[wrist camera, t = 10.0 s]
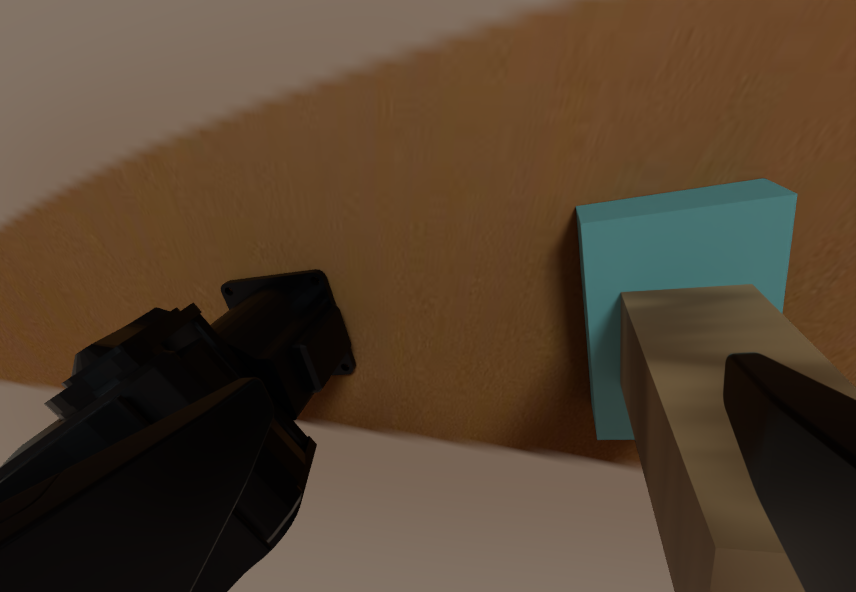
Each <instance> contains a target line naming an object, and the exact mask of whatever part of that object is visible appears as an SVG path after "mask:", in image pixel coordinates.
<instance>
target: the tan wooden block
mask: <svg viewBox="0 0 856 592" xmlns="http://www.w3.org/2000/svg"><path fill="white" fill-rule="evenodd" d="M749 352H757V353H760V354H762V355H765V356H767V357H769V358H771V359H773V360H775V361H777V362H779V363H781V364H783V365H785V366H787V367H789V368H791V369H793V370H795V371H797V372H800V373H802V374H804V375H806V376H808V377H810V378H812V379H814V380H816V381H818V382H820V383H822V384H824V385H826V386H828V387H830V388H832V389H835V390H837V391H839V392H841V393H843V394H845V395H847V396H849V397H851V398H853V399H855V400H856V387H855V386H854V385H853V384H852V383H851V382H850V381H849V380H848V379H847V378H846V377H845V376H844V375H843V374H842V373H841V372H840V371H839V370H838V369H837V368H836V367H835V366H834V365H833V364H832V363H831V362H830V361H829V360H828V359H827V358H826V357H825V356H824V355H823V354H822V353H821V352H820V351H819V350H818V349H817V348H816V347H815V346H814V345H813V344H812V343H811V342H810V341H809V340H808V339H807V338H806V337H805V336H804V335H803V334H802V333H801V332H800V331H799V330H798V329H797V328H796V327H795V326H794V325H793V324H792V323H791V322H790V321H789V320H788V319H787V318H786V317H785V316H784V315H783V314H782V313H781V312H780V311H779V310H778V309H777V308H776V307H775V306H774V305H773V304H772V303H771V302H770V301H769V300H768V299H767V298H766V297H765V296H764V295H763V294H762V293H761V292H760V291H759V290H758V289H757V288H756V287H755V286H754V285H753V284H744V285H728V286H712V287H696V288H679V289H663V290H647V291H631V292H621V331H620V385H621V389H622V393H623V396H624V400H625V404H626V408H627V412H628V415H629V419H630V423H631V427H632V431H633V434H634V438H635V442H636V446H637V450H638V454H639V457H640V461H641V465H642V469H643V473H644V476H645V480H646V484H647V487H648V492H649V496H650V499H651V503H652V507H653V511H654V515H655V518H656V522H657V526H658V530H659V534H660V537H661V541H662V545H663V549H664V552H665V557H666V560H667V564H668V568H669V572H670V576H671V579H672V583H673V587H674V591H675V592H805V590H804V588H803V587H802V585H801V583H800V581H799V579H798V577H797V575H796V573H795V571H794V569H793V567H792V565H791V563H790V561H789V559H788V557H787V555H786V553H785V551H784V549H783V547H782V545H781V543H780V541H779V539H778V537H777V535H776V533H775V531H774V529H773V527H772V525H771V523H770V521H769V519H768V517H767V515H766V513H765V511H764V509H763V507H762V505H761V503H760V501H759V499H758V496H757V494H756V492H755V489H754V487H753V484H752V481H751V479H750V476H749V473H748V470H747V468H746V465H745V462H744V459H743V457H742V454H741V451H740V448H739V446H738V443H737V440H736V437H735V435H734V432H733V429H732V426H731V424H730V421H729V418H728V415H727V413H726V410H725V406H724V402H723V385H724V372H725V361H726V358H727V356H728V355H729V354H732V353H749Z"/></svg>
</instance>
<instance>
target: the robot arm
mask: <svg viewBox="0 0 856 592" xmlns="http://www.w3.org/2000/svg"><path fill="white" fill-rule="evenodd" d="M314 277H317V278H318V279H319V282H317V281H315V279H314ZM229 288H230V289H232V291H233V292H232V291H230V289H229ZM221 292H222V295H223V297H224V299H225V301H226V303H227V306H228V308H229V311H228V312H226V313H225V314H224V315H223V316H221V317H220V318H219V319H217V320H216V321H215V322H214V323H212V324H211V325H209V323H208V322H207V321H206V320H205V319H204V318H203V317H202V315H201V314H200V313H201V311H200V309H199V308H198V307H197V306H196V305H195V304H194V302H193V303H192V304H190V305H189V306H187V307H186V308H184V309H183V310H181V311H180V310H179V309H178V308H175V309H173V310H172V311H167V310H163V309H160V308H157V307H156V308H154V309H152V310H151V311H149V312H148V313H146V314H144V315H143V316H141V317H140V318H138V319H136V320H135V321H133V322H131V323H130V324H128V325H126V326H125V327H123V328H121V329H119V330H117V331H115V332H114V333H112V334H110V335H108V336H106V337H104V338H102V339H100V340H98V341H97V342H95V343H93V344H91V345H89V346H88V347H86V348H85V349H83V350H82V351H80V352H79V353H77V354H76V355H75V360H74V365H73V370H72V376H71V377H70V378H69V379H67V380H66V381H65V382H63V383H62V385H63V386H64V387H65V388H66V389H65V390H63V391H62V392H60V393H59V394H57V395H56V396H55V397H53V398H52V399H50V400H49V401H47V402H46V403H44V404H45V405H46V406H47V407H48V408H49V409H50V410H51V411H52V412H53V413H54V414H55V415H57V416H58V417H59V419H58V420H57V421H55V422H54V423H53V424H51V425H50V426H48V427H47V428H45V429H44V430H43V431H41V432H40V433H38V434H37V435H36V436H34V437H33V438H32V439H30V440H29V441H27V442H26V443H25V444H23V445H22V446H21V447H20V448H18V450H16V451H15V452H14V453H13V454H12V455H11V456H10V457H9V458H8V460H6V462H5V463H4V464H3V465H2V466H1V467H0V592H227V591H228V590H229V589H230V588H231V587H232V586H233V585H234V584H235V583H236V582H237V581H238V580H239V579H240V578H241V577H242V576H243V574H244V573H246V572H247V571H248V570H249V569H250V568H251V567H252V566H254V565H255V564H256V563H257V562H259V561H260V560H261V559H262V558H264V557H265V556H266V555H267V554H268V553H269V552H270V551H271V550H272V549H273V548H274V547H275V546H276V544H277V543H278V542H279V541H280V540H281V539H282V537H283V536H284V535H285V533H286V532H287V530H288V529H289V527H290V526H291V525H292V523H293V521H294V519H295V517H296V516H297V513H298V511H299V508H300V505H301V501H302V498H303V494H304V490H305V487H306V483H307V479H308V476H309V472H310V468H311V464H312V461H313V457H314V453H315V450H316V446H317V444H316V443H315V442H314V441H313V440H312V438H311V437H310V436H308V437H307V436H306V435H305V434H304V433H303V431H302V430H301V429H300V428H299V427H298V426H297V424H296V423H295V422H294V420H296V419H297V417H298V416H299V414H300V413H301V411H302V410H303V409H304V407H305V406H306V404H307V403H308V401H309V400H310V398H311V397H312V395H313V394H314V393H316V392H320V391H321V390H322V388H323V387H324V385H325V384H326V382H327V381H328V379H329V378H330V376H331V375H345V374H351V373H352V372H353V370H354V369H355V366H356V363H355V360H354V357H353V354H352V351H351V348H350V347H351V342H350V339H349V336H348V333H347V331H346V328H345V325H344V322H343V319H342V316H341V313H340V310H339V308H338V307H337V306H336V304H335V301H334V298H333V295H332V292H331V289H330V286H329V283H328V280H327V277H326V275H325V274H324V273H323V272H322V271H321V270H316V269H315V270H307V271H299V272H292V273H284V274H276V275H269V276H261V277H253V278H246V279H238V280H230V281H227V282H226V283H224V284H223V285H222V286H221ZM344 364H347V365H348V366H349V367H347V366H345V365H344ZM723 402H724V406H725V410H726V413H727V415H728V418H729V421H730V424H731V426H732V429H733V432H734V435H735V437H736V440H737V443H738V446H739V448H740V451H741V454H742V457H743V459H744V462H745V465H746V468H747V470H748V473H749V476H750V479H751V481H752V484H753V487H754V489H755V492H756V494H757V496H758V499H759V501H760V503H761V505H762V507H763V509H764V511H765V513H766V515H767V517H768V519H769V521H770V523H771V525H772V527H773V529H774V531H775V533H776V535H777V537H778V539H779V541H780V543H781V545H782V547H783V549H784V551H785V553H786V555H787V557H788V559H789V561H790V563H791V565H792V567H793V569H794V571H795V573H796V575H797V577H798V579H799V581H800V583H801V585H802V587H803V588H804V590H805V592H856V400H855V399H853V398H851V397H849V396H847V395H845V394H843V393H841V392H839V391H837V390H835V389H832V388H830V387H828V386H826V385H824V384H822V383H820V382H818V381H816V380H814V379H812V378H810V377H808V376H806V375H804V374H802V373H800V372H797V371H795V370H793V369H791V368H789V367H787V366H785V365H783V364H781V363H779V362H777V361H775V360H773V359H771V358H769V357H767V356H765V355H762V354H760V353H757V352H749V353H732V354H729V355H728V356H727V358H726V361H725V372H724V385H723Z"/></svg>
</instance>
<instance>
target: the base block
mask: <svg viewBox="0 0 856 592" xmlns="http://www.w3.org/2000/svg"><path fill="white" fill-rule="evenodd" d="M796 201H797V194H796V193H794V192H792V191H790V190H788V189H786V188H784V187H782V186H780V185H778V184H775V183H773V182H771V181H769V180H767V179H765V178H763V179H756V180H749V181H743V182H736V183H729V184H722V185H716V186H709V187H702V188H696V189H689V190H682V191H675V192H669V193H662V194H655V195H649V196H642V197H635V198H628V199H622V200H615V201H608V202H602V203H595V204H588V205H581V206H576V214H577V227H578V239H579V252H580V264H581V277H582V289H583V302H584V314H585V327H586V339H587V352H588V365H589V377H590V390H591V402H592V410H593V416H594V423H595V429H596V435H597V440H635V438H634V434H633V431H632V427H631V423H630V419H629V415H628V412H627V408H626V404H625V400H624V396H623V393H622V389H621V385H620V331H621V292H631V291H647V290H663V289H679V288H696V287H712V286H728V285H744V284H753V285H754V286H755V287H756V288H757V289H758V290H759V291H760V292H761V293H762V294H763V295H764V296H765V297H766V298H767V299H768V300H769V301H770V302H771V303H772V304H773V305H774V306H775V307H776V308H777V309H778V310H779V311H780V312H781V313H782V310H783V302H784V295H785V287H786V279H787V271H788V263H789V255H790V248H791V240H792V232H793V224H794V216H795V209H796Z"/></svg>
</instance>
